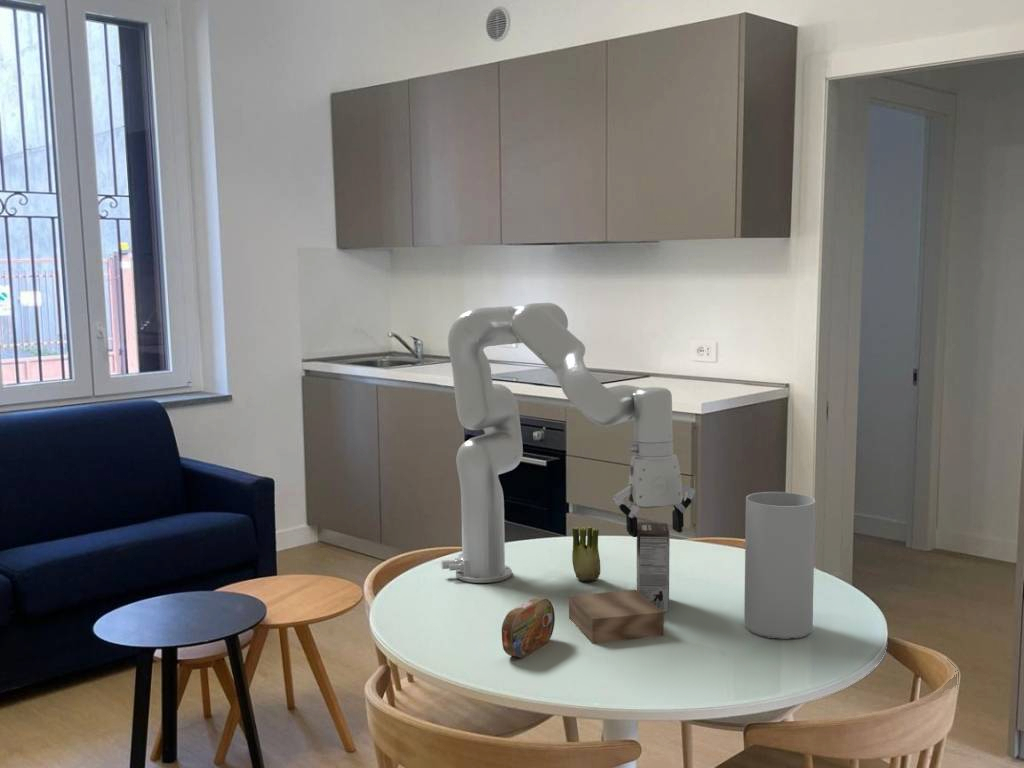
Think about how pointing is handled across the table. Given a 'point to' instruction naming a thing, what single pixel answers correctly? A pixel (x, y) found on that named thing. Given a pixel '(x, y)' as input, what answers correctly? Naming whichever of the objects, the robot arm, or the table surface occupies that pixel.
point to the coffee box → (653, 563)
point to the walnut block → (616, 616)
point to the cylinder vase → (779, 564)
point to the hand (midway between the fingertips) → (655, 533)
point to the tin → (528, 627)
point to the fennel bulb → (586, 554)
